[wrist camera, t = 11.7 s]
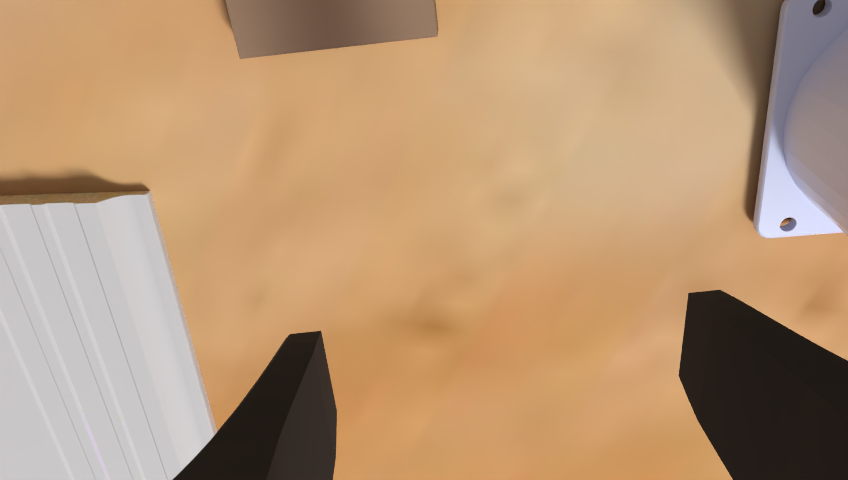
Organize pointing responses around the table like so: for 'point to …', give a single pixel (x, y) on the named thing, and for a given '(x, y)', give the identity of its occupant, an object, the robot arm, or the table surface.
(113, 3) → the table surface
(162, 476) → the baseboard molding
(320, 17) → the board
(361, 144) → the table surface
